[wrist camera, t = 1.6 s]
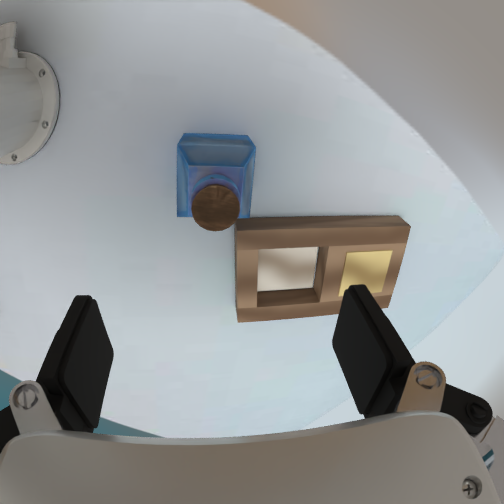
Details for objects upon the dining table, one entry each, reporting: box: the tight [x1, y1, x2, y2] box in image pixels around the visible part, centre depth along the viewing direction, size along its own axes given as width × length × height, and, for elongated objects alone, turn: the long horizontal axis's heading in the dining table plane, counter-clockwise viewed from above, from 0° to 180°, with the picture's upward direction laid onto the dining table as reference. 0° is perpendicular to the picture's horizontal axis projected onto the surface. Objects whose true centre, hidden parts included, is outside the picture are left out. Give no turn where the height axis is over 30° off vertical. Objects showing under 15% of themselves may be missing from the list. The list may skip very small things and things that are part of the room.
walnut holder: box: [235, 216, 411, 323], centre depth 37 cm, size 12×20×3 cm, turn 89°
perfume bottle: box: [177, 133, 256, 231], centre depth 25 cm, size 6×6×12 cm
